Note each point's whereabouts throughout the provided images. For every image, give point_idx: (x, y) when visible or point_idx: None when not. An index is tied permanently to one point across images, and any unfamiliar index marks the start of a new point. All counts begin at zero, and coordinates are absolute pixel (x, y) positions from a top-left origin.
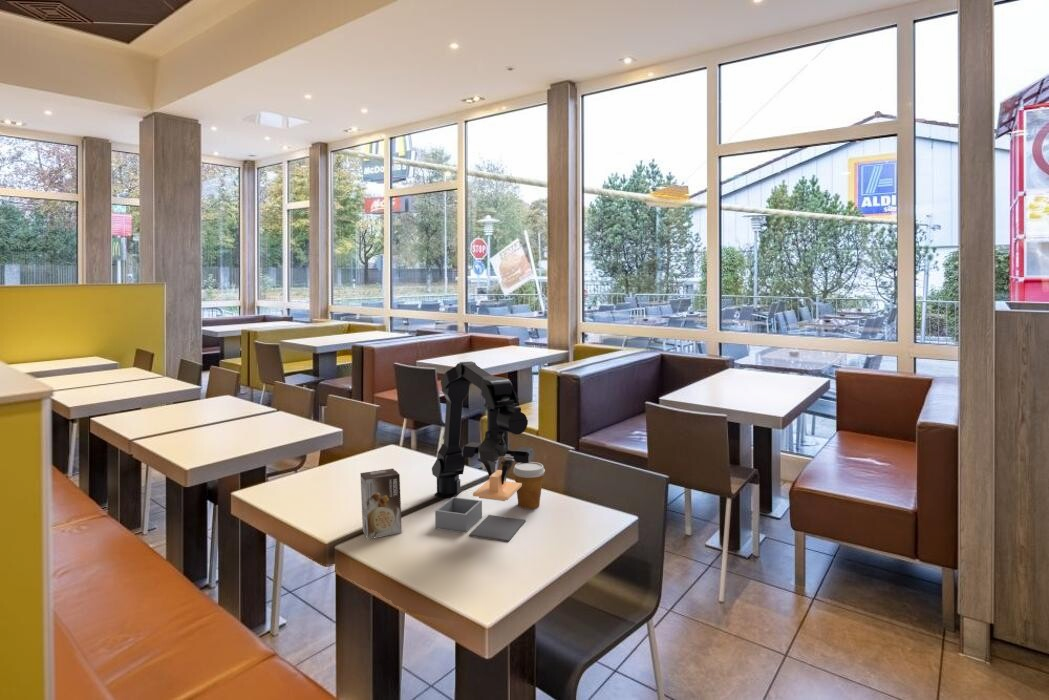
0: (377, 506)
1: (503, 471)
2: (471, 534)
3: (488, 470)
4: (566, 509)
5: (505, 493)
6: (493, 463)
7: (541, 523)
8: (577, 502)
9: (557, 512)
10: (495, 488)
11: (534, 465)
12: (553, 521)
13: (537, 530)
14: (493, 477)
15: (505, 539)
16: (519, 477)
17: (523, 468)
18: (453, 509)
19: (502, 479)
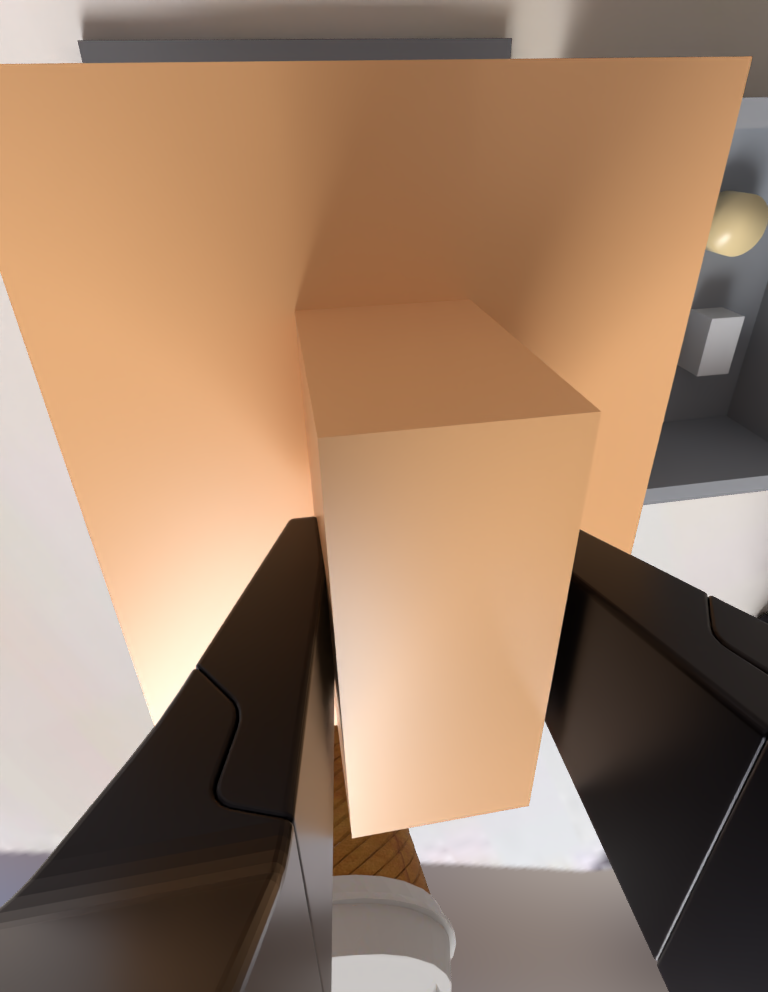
0: None
1: (250, 706)
2: (488, 42)
3: (715, 623)
4: (49, 755)
5: (132, 300)
6: (684, 906)
7: (61, 527)
8: (53, 840)
9: (73, 704)
10: (362, 328)
11: None
12: (3, 588)
13: (4, 403)
14: (470, 413)
15: (116, 42)
16: (356, 867)
17: (353, 976)
18: (747, 420)
19: (296, 563)
